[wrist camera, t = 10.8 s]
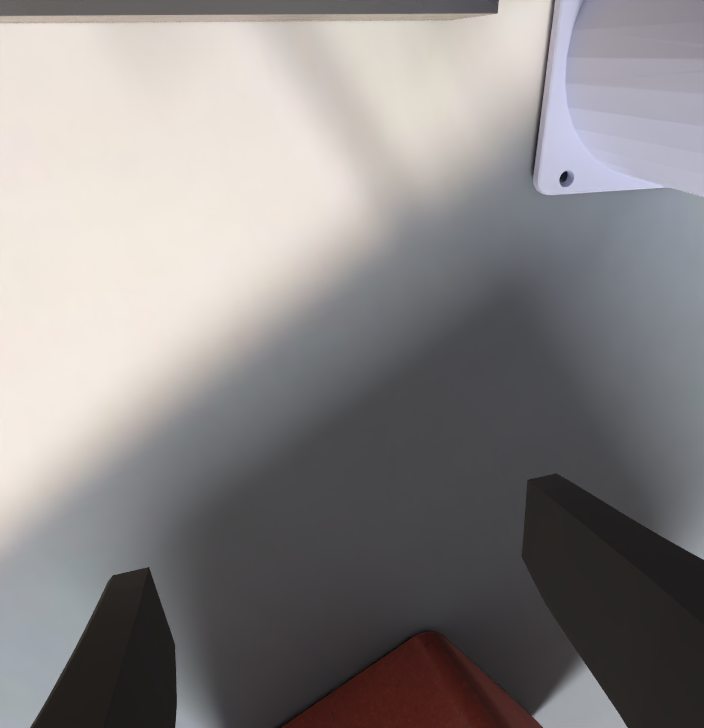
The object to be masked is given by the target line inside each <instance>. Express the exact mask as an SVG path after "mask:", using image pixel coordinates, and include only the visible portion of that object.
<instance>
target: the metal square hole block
mask: <svg viewBox="0 0 704 728" xmlns="http://www.w3.org/2000/svg"><path fill="white" fill-rule="evenodd" d="M498 2H499V0H0V23H94V22H233V21H372V20H455V19H462V18H469V17H476V16H483V15H490V14H497V13H498Z"/></svg>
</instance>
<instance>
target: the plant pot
mask: <svg viewBox="0 0 704 728" xmlns="http://www.w3.org/2000/svg"><path fill="white" fill-rule="evenodd" d="M281 728H543V727H542V726H541V725H540V724H539V723H538V722H537V721H536V720H535V719H534V718H533V717H532V716H531V715H530V714H529V713H528V712H527V711H526V710H525V709H524V708H523V707H522V706H520V705H519V704H518V703H517V702H516V701H515V700H514V699H513V698H512V697H511V696H509V695H508V694H507V693H506V692H505V691H504V690H503V689H502V688H500V687H499V686H498V685H497V684H496V683H495V682H494V681H493V680H491V679H490V678H489V677H488V676H487V675H486V674H485V673H484V672H483V671H482V670H481V669H479V668H478V667H477V666H476V665H475V664H474V663H473V662H472V661H471V660H470V659H469V658H467V657H466V656H465V655H464V654H463V653H462V652H461V651H460V650H459V649H458V648H456V647H455V646H454V645H453V644H452V643H451V642H450V641H449V640H448V639H446V638H445V637H444V636H443V635H441V634H439V633H437V632H424V633H421V634H418V635H416V636H414V637H412V638H411V639H409V640H408V641H407V642H405V643H404V644H402V645H401V646H399V647H398V648H397V649H395V650H394V651H392V652H391V653H389V654H388V655H386V656H385V657H383V658H382V659H380V660H379V661H377V662H376V663H374V664H373V665H371V666H370V667H368V668H367V669H365V670H364V671H363V672H361V673H360V674H358V675H357V676H355V677H354V678H352V679H351V680H349V681H348V682H347V683H345V684H344V685H342V686H341V687H339V688H338V689H336V690H335V691H333V692H332V693H330V694H329V695H328V696H326V697H325V698H323V699H322V700H320V701H319V702H317V703H316V704H314V705H313V706H312V707H310V708H309V709H307V710H306V711H304V712H303V713H301V714H300V715H298V716H297V717H296V718H294V719H293V720H291V721H290V722H288V723H287V724H285V725H284V726H283V727H281Z"/></svg>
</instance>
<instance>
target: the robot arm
mask: <svg viewBox="0 0 704 728" xmlns="http://www.w3.org/2000/svg"><path fill="white" fill-rule="evenodd" d="M564 171H567V173H568V177H567V180H566V181H565V182H564V183H563V184H561V185H560V183H559V178H560V176H561V174H562V173H563V172H564ZM533 185H534V187H535V189H536V190H537V191H539V192H540V193H542V194H545V195H560V194H575V193H590V192H605V191H619V190H634V189H649V188H664V187H670V188H674V189H677V190H681V191H684V192H688V193H691V194H695V195H698V196H702V197H704V0H555V6H554V15H553V23H552V31H551V39H550V47H549V55H548V63H547V71H546V79H545V87H544V95H543V103H542V111H541V119H540V128H539V136H538V144H537V152H536V160H535V168H534V176H533ZM522 558H523V560H524V562H525V564H526V566H527V568H528V570H529V572H530V574H531V576H532V578H533V580H534V582H535V584H536V586H537V588H538V590H539V592H540V594H541V596H542V597H543V599H544V601H545V603H546V605H547V606H548V608H549V610H550V611H551V613H552V614H553V616H554V617H555V619H556V620H557V622H558V623H559V625H560V626H561V628H562V629H563V631H564V632H565V634H566V635H567V637H568V638H569V640H570V641H571V643H572V644H573V646H574V647H575V649H576V650H577V652H578V653H579V655H580V656H581V658H582V659H583V661H584V662H585V664H586V665H587V667H588V668H589V670H590V671H591V673H592V674H593V676H594V677H595V679H596V680H597V681H598V683H599V684H600V686H601V687H602V689H603V690H604V692H605V693H606V695H607V696H608V698H609V699H610V701H611V702H612V704H613V705H614V707H615V708H616V710H617V711H618V713H619V714H620V716H621V718H622V719H623V721H624V722H625V724H626V726H627V727H628V728H704V560H703V559H701V558H699V557H697V556H695V555H693V554H692V553H690V552H688V551H686V550H684V549H682V548H681V547H679V546H677V545H675V544H673V543H672V542H670V541H668V540H666V539H665V538H663V537H661V536H659V535H658V534H656V533H654V532H653V531H651V530H649V529H647V528H646V527H644V526H642V525H641V524H639V523H637V522H636V521H634V520H632V519H631V518H629V517H627V516H626V515H624V514H622V513H621V512H619V511H617V510H616V509H614V508H613V507H611V506H609V505H608V504H606V503H604V502H603V501H601V500H599V499H598V498H596V497H595V496H593V495H591V494H590V493H588V492H586V491H585V490H583V489H582V488H580V487H578V486H577V485H575V484H573V483H572V482H570V481H568V480H567V479H565V478H563V477H561V476H560V475H558V474H552V475H548V476H543V477H539V478H535V479H530V480H528V483H527V497H526V510H525V523H524V536H523V549H522ZM176 708H177V693H176V660H175V643H174V640H173V637H172V634H171V631H170V628H169V625H168V622H167V619H166V616H165V614H164V611H163V608H162V605H161V602H160V599H159V596H158V593H157V590H156V587H155V584H154V581H153V578H152V575H151V572H150V569H149V567H148V568H143V569H139V570H135V571H130V572H126V573H122V574H117V575H113V576H112V577H111V579H110V580H109V581H108V583H107V585H106V587H105V589H104V591H103V593H102V595H101V598H100V600H99V602H98V604H97V606H96V608H95V610H94V612H93V614H92V616H91V618H90V620H89V622H88V624H87V626H86V628H85V630H84V632H83V634H82V636H81V638H80V640H79V642H78V644H77V646H76V648H75V650H74V651H73V653H72V655H71V657H70V659H69V661H68V663H67V664H66V666H65V668H64V670H63V672H62V673H61V675H60V677H59V679H58V681H57V683H56V684H55V686H54V688H53V690H52V692H51V693H50V695H49V697H48V699H47V701H46V702H45V704H44V706H43V708H42V709H41V711H40V713H39V714H38V716H37V718H36V719H35V721H34V722H33V724H32V726H31V727H30V728H175V722H176Z"/></svg>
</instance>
